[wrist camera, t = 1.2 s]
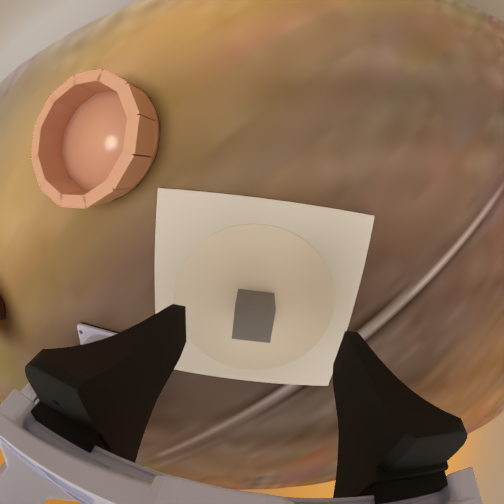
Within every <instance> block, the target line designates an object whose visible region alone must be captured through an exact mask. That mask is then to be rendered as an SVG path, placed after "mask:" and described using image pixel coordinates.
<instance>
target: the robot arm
mask: <svg viewBox="0 0 504 504" xmlns="http://www.w3.org/2000/svg"><path fill="white" fill-rule="evenodd" d="M77 329H78V334H79V339H80V344H81V345H78V346H73V347H67V348H57V349H42V350H41V351H40V352H39V353H38V354H37V355H36V356H35V357H34V358H33V359H32V360H31V361H30V362H29V363H28V364H27V365H26V367H25V373H26V377H27V379H28V381H29V383H28V384H27V385H26V386H25V387H24V388H23V389H22V390H21V391H18V390H17V389H14V390H13V391H12V392H11V393H10V394H9V396H8V397H7V398H6V399H5V400H4V401H3V402H2V403H1V405H0V447H1V450H2V453H3V456H4V459H5V462H4V463H3V464H2V466H1V467H0V504H44V503H45V502H46V501H47V499H59V500H70V501H78V502H80V503H82V504H482V501H481V497H480V493H479V489H478V485H477V482H476V478H475V475H474V472H473V468H471V467H470V468H467V469H463V470H461V471H457V472H454V473H451V474H449V475H448V476H446V475H445V470H447V469H448V464H447V460H448V459H449V458H450V457H452V456H453V455H454V454H455V453H456V452H457V451H458V450H459V449H460V448H461V447H462V446H463V444H464V443H465V441H466V439H467V433H466V430H465V428H464V425H463V423H462V420H461V418H458V417H456V416H454V415H452V414H449V413H447V412H445V411H443V410H441V409H439V408H437V407H436V406H434V405H432V404H430V403H429V402H427V401H426V400H424V399H423V398H421V397H420V396H419V395H417V394H416V393H414V392H413V391H412V390H411V389H409V388H408V387H407V386H406V385H405V384H404V383H402V382H401V381H400V380H399V379H398V378H397V377H396V376H395V375H394V374H393V373H392V372H391V371H390V370H389V369H388V368H387V367H386V366H385V365H384V364H383V362H382V361H381V360H380V359H379V358H378V357H377V355H376V354H375V353H374V352H373V351H372V349H371V348H370V347H369V346H368V344H367V343H366V342H365V341H364V339H363V338H362V337H361V336H360V335H359V333H358V332H349V331H345V332H344V335H343V338H342V341H341V344H340V347H339V350H338V352H337V355H336V358H335V361H334V363H333V386H334V394H335V401H336V409H337V417H338V427H339V445H338V463H337V474H336V483H335V489H334V496H333V498H292V497H280V496H274V495H269V494H261V493H254V492H246V491H240V490H234V489H229V488H223V487H219V486H214V485H209V484H205V483H201V482H197V481H193V480H189V479H185V478H181V477H176V476H172V475H167V474H164V473H161V472H158V471H155V470H152V469H150V468H147V467H144V466H141V465H139V464H136V463H135V460H136V457H137V453H138V450H139V446H140V443H141V440H142V437H143V434H144V431H145V428H146V426H147V423H148V420H149V418H150V415H151V413H152V410H153V408H154V405H155V403H156V400H157V398H158V396H159V394H160V392H161V391H162V389H163V387H164V385H165V384H166V382H167V380H168V378H169V377H170V375H171V373H172V371H173V370H174V368H175V366H176V364H177V362H178V361H179V359H180V356H181V354H182V352H183V349H184V346H185V344H186V309H185V306H181V305H176V304H172V305H170V306H168V307H166V308H165V309H163V310H161V311H160V312H158V313H156V314H155V315H153V316H151V317H149V318H148V319H146V320H144V321H142V322H141V323H139V324H137V325H135V326H133V327H131V328H129V329H127V330H125V331H123V332H120V333H115V332H111V331H107V330H104V329H100V328H96V327H93V326H89V325H86V324H82V323H79V324H78V325H77Z"/></svg>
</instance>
